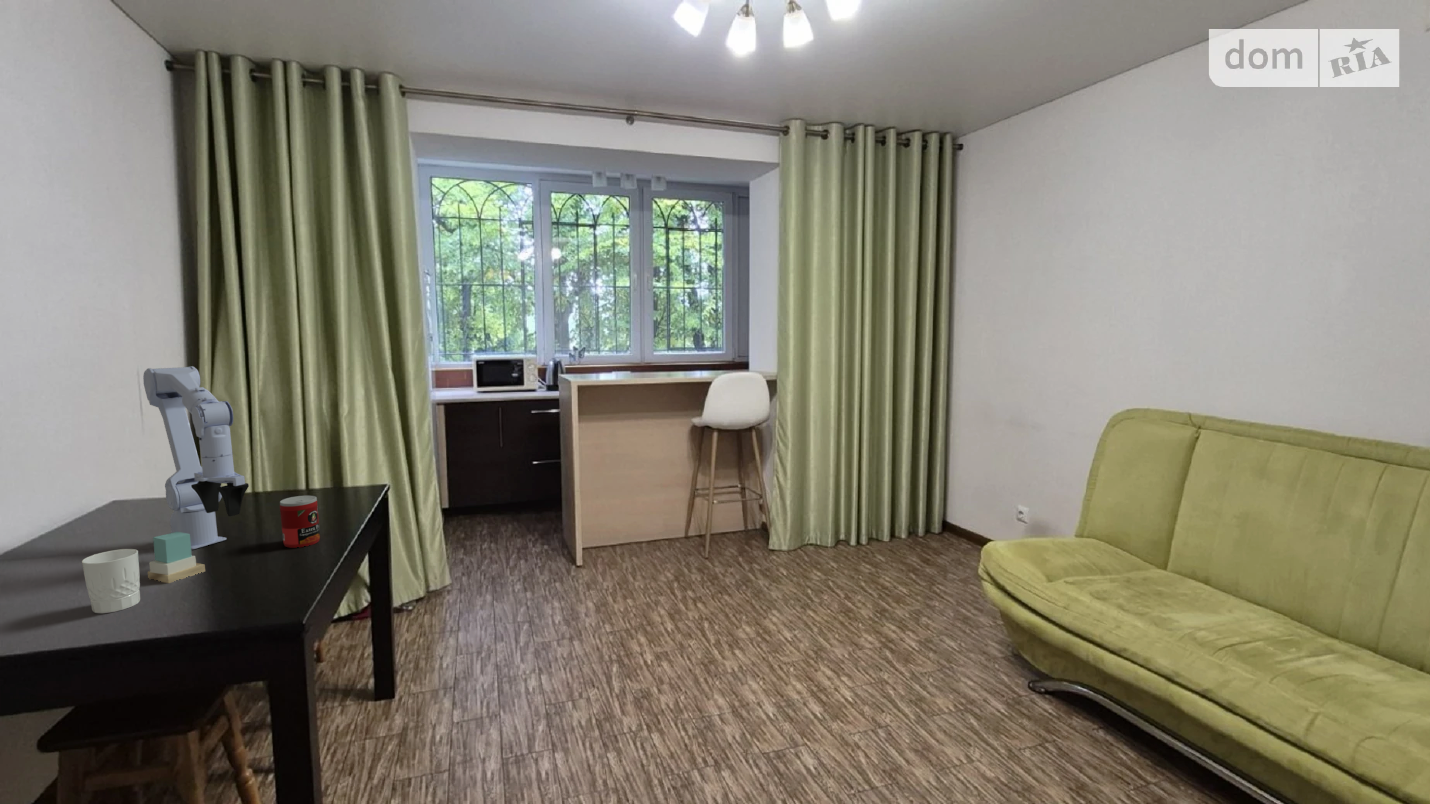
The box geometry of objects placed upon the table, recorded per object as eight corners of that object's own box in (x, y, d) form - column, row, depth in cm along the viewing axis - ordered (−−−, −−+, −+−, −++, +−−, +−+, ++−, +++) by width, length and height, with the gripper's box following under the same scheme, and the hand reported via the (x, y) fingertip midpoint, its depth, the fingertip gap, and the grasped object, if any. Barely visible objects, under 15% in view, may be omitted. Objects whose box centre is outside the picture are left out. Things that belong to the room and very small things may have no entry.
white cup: (111, 598, 128) (105, 549, 127) (154, 596, 129) (148, 547, 128) (76, 616, 121) (69, 564, 119) (122, 614, 121) (115, 562, 120)
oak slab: (148, 581, 138) (147, 571, 138) (185, 570, 145) (184, 560, 145) (169, 586, 136) (167, 576, 136) (205, 574, 142) (204, 564, 142)
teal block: (155, 560, 138) (153, 537, 138) (179, 553, 143) (177, 531, 142) (167, 563, 137) (165, 540, 136) (191, 556, 141) (189, 534, 140)
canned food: (303, 549, 156) (299, 504, 154) (275, 547, 157) (270, 502, 156) (328, 538, 163) (324, 496, 162) (301, 537, 165) (297, 494, 163)
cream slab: (150, 572, 138) (149, 562, 138) (178, 563, 143) (177, 553, 143) (168, 575, 136) (167, 564, 136) (196, 565, 141) (195, 556, 141)
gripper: (177, 456, 147) (183, 515, 149) (218, 461, 142) (225, 521, 143) (210, 450, 153) (216, 507, 155) (251, 454, 148) (257, 512, 150)
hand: (223, 513), depth 150 cm, fingers open, 7 cm apart
